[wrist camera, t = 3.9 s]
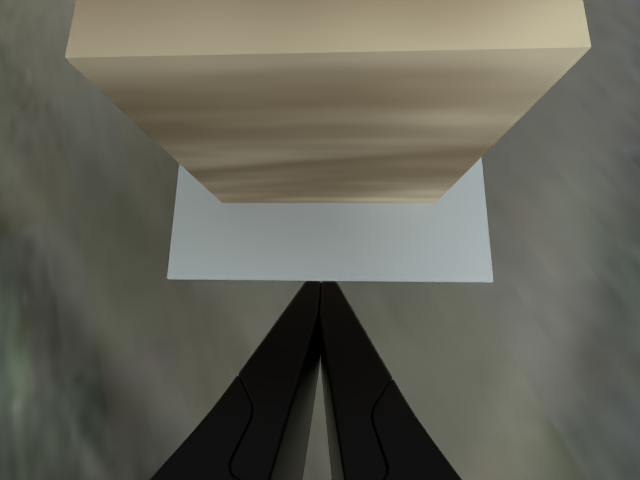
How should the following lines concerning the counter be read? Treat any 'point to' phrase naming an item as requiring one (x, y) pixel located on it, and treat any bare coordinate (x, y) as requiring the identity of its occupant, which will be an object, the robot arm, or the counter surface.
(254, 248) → the light gray mat
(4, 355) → the counter surface
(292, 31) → the birch tile
